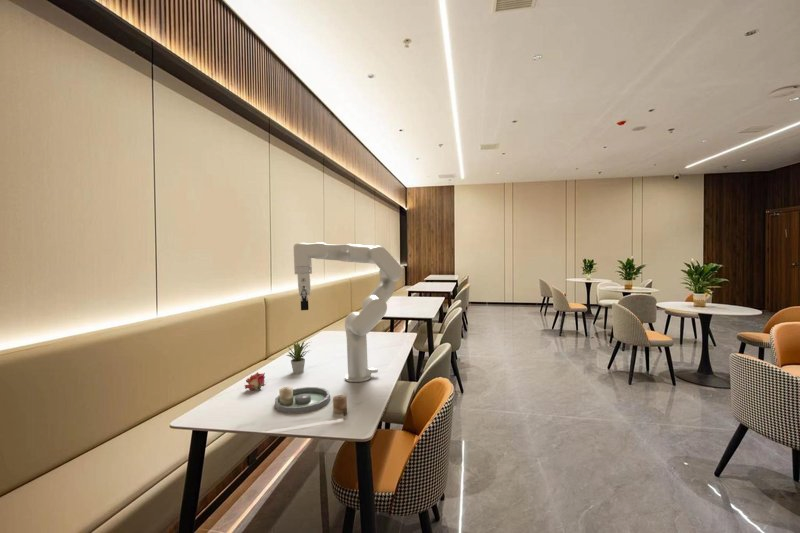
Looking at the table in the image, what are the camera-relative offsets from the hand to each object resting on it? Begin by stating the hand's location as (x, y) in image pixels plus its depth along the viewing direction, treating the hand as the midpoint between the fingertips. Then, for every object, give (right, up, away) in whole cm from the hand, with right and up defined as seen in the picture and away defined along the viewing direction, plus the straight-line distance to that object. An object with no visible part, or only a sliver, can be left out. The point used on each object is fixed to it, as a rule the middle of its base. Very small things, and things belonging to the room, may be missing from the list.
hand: (304, 308), depth 161 cm
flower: (-22, -37, -1) cm, 43 cm away
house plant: (-8, -35, +23) cm, 43 cm away
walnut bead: (+21, -36, -28) cm, 50 cm away
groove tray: (+4, -36, -19) cm, 41 cm away
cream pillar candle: (-2, -35, -20) cm, 41 cm away
